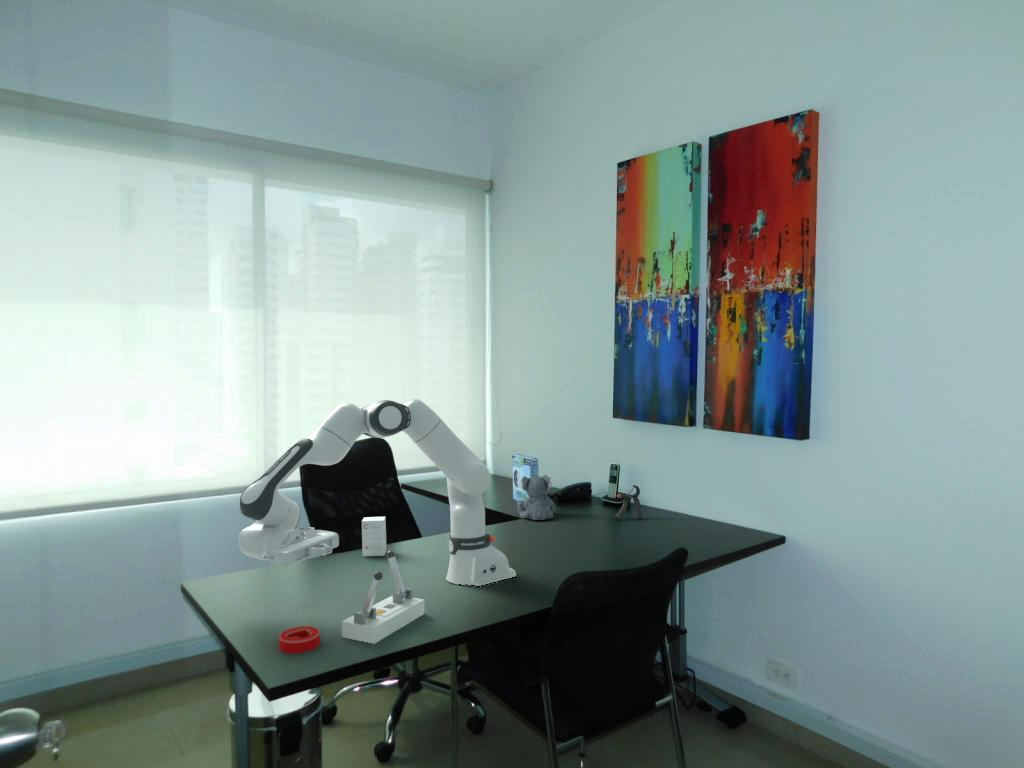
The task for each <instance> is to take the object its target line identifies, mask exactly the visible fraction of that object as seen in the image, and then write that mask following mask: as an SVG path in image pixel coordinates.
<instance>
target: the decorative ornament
mask: <svg viewBox="0 0 1024 768" xmlns="http://www.w3.org/2000/svg"><path fill="white" fill-rule="evenodd" d="M319 644H320V645H321V631H320V630H319V628H316V627H314V626H296V627H292V628H289V629H285V630H283V632H281V633H280V634H279V636H278V649H279V651H280V652H281V651H282V652H281V653H284V652H285V653H284V654H290V653H297V654H302V653H301V652H304V653H306V652H305V651H308V652H310V651H309V650H311V651H313V650H315V649H317V648H318V647H319V646H320V645H319ZM316 647H317V648H316ZM314 648H315V649H314ZM312 649H313V650H312Z"/></svg>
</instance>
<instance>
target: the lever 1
mask: <svg viewBox="0 0 1024 768" xmlns="http://www.w3.org/2000/svg"><path fill="white" fill-rule="evenodd" d="M383 577H384V574H383V573H382V571H379V570H378V571H375V572H374V574H373V579H372V581H371V585H370V588H369V591H368V593H367V596H366V599H365V603H364V605H363V608H362V610H361V611H362V612H361V611H359V612H360V613H363V614H365V619H366V618H368V617H370V616H371V615H372V611H371V608H372V606H373V605H374V603H375V599H376V596H377V594H378V591H379V587H380V584H381V581H382V580H383Z"/></svg>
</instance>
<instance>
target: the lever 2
mask: <svg viewBox="0 0 1024 768" xmlns="http://www.w3.org/2000/svg"><path fill="white" fill-rule="evenodd" d="M395 554H396V553H395V552H394V551H393V550H389V551H386V557H387V560H388V563H389V566H390V571H391V573H392V577H393V580H394V583H395V587H396V591H397V593H400V594H403V599H404V598H406V597H408V596H409V592H408V591H407V590H405V588H406V587H405V585H404V582H403V580H402V576H401V572H400V568H399V566H398V562H397V559H396V556H395Z"/></svg>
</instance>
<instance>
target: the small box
mask: <svg viewBox="0 0 1024 768" xmlns="http://www.w3.org/2000/svg"><path fill="white" fill-rule="evenodd" d="M386 519H387V518H386V516H370V517H369V516H367V517H363V519H362V520H361V542H362V543H361V546H362V547H361V549H362V550H361V551H362V557H383V556H386V554H387V528H386V526H387V525H386V524H387V523H386V521H387V520H386Z"/></svg>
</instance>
